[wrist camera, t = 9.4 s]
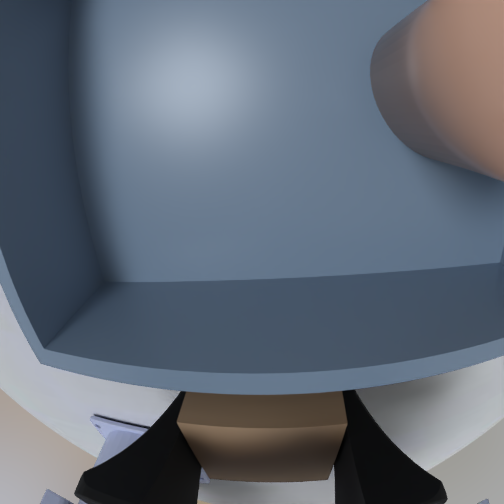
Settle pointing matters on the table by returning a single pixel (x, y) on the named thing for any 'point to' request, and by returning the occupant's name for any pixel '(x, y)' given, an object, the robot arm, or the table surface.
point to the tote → (232, 201)
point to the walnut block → (264, 435)
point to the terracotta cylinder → (446, 83)
